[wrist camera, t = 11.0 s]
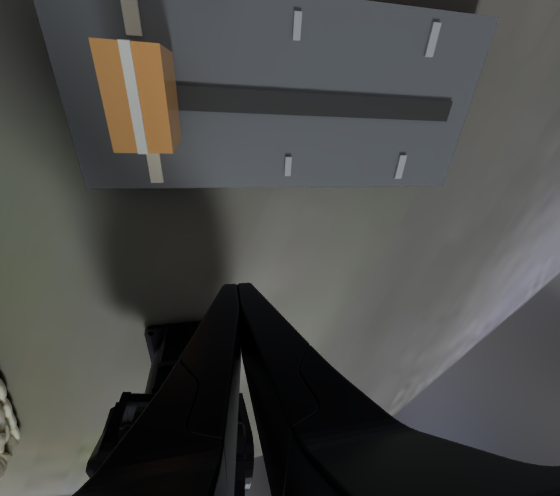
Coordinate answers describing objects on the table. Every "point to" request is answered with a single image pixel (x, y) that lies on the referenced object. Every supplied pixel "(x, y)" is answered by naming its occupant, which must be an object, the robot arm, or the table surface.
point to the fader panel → (278, 90)
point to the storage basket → (7, 430)
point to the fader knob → (138, 95)
